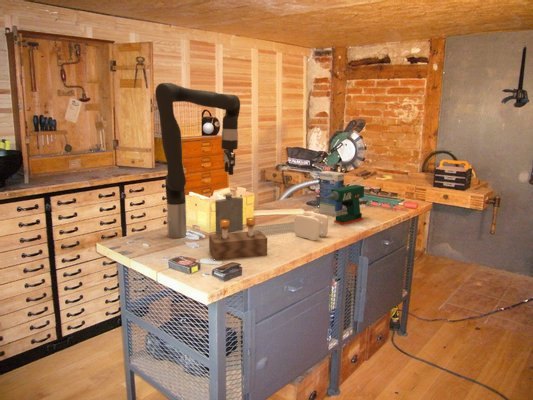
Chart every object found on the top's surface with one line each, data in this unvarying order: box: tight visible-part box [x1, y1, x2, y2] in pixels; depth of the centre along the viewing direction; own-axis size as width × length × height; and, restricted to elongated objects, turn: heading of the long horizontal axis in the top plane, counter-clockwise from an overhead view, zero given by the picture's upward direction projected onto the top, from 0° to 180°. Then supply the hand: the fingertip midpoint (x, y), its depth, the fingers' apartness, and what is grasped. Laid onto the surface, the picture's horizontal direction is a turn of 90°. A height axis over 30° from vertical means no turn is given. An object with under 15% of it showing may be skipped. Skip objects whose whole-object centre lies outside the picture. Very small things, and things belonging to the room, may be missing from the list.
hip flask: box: [214, 193, 244, 234], centre depth 230 cm, size 16×4×20 cm, turn 125°
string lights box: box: [318, 170, 345, 218], centre depth 267 cm, size 13×8×26 cm, turn 49°
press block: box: [208, 230, 268, 261], centre depth 199 cm, size 24×12×8 cm, turn 108°
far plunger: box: [245, 217, 256, 237], centre depth 200 cm, size 4×4×15 cm
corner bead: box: [253, 221, 295, 237], centre depth 232 cm, size 29×9×5 cm, turn 114°
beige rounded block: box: [293, 211, 329, 241], centre depth 224 cm, size 15×11×12 cm
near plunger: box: [220, 219, 229, 239], centre depth 196 cm, size 4×4×15 cm
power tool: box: [325, 184, 365, 226], centre depth 248 cm, size 32×7×20 cm, turn 131°
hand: (228, 173), depth 208 cm, fingers open, 8 cm apart
